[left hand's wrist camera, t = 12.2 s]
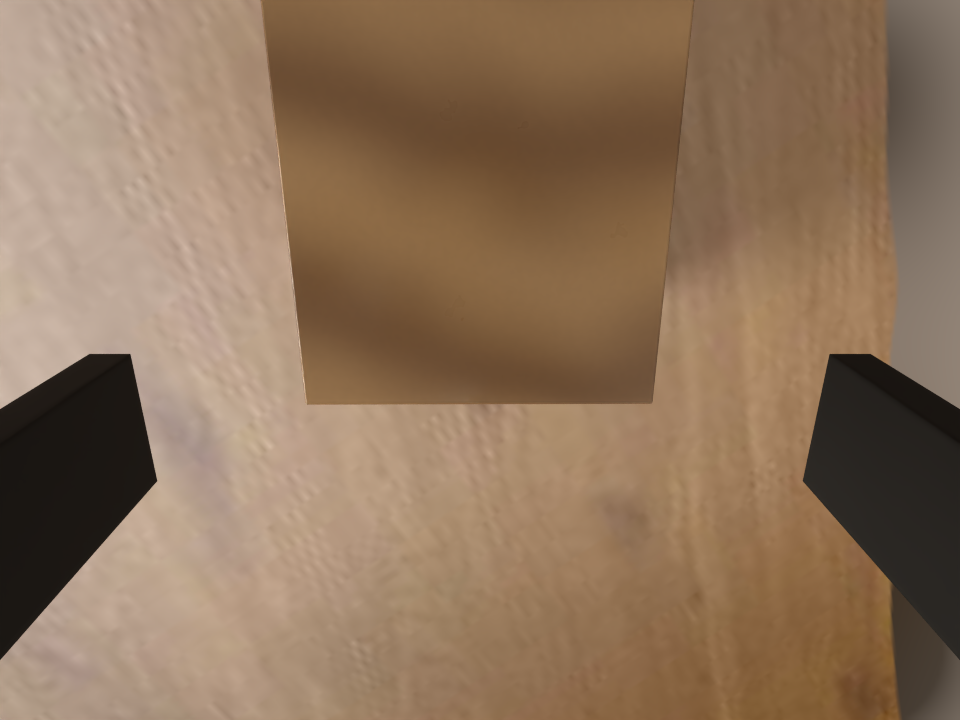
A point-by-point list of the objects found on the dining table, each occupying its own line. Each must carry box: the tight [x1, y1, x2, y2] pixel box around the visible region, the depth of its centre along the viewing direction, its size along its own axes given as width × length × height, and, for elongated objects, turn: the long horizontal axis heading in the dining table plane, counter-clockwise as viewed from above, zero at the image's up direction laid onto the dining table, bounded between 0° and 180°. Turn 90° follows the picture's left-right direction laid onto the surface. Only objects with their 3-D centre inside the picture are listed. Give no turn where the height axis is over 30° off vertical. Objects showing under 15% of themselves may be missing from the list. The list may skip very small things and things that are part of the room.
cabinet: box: [261, 0, 694, 404], centre depth 22 cm, size 17×11×11 cm, turn 0°
